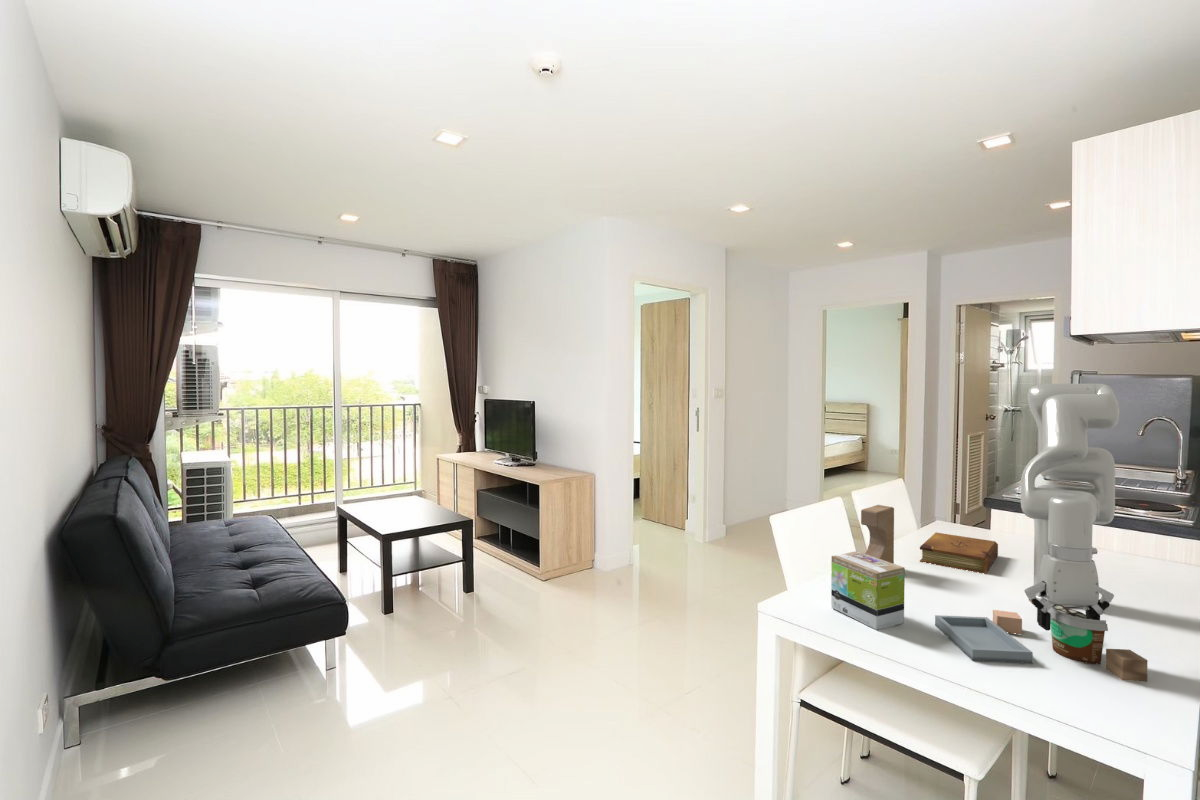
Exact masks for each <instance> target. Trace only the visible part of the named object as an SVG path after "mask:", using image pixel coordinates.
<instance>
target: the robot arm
mask: <svg viewBox="0 0 1200 800" xmlns="http://www.w3.org/2000/svg"><path fill="white" fill-rule="evenodd" d="M1027 403H1028V408H1029V410H1030V413H1031V414H1032V417H1033V419H1034V421H1035V423H1036V428H1037V430H1038V434H1037V435H1038V436H1037V437H1038V442H1037V443H1038V445H1037V446H1038V449H1037V454H1036V455H1035V456H1034V457H1032V458H1031V459H1030V460H1029V462H1028V463H1027V464H1026V465H1025V467H1024V468H1023V470H1022V474H1021V477H1020V478H1021V479H1020V508H1021V510H1022V513H1023V514H1024V515H1025V516H1026V517H1027V518H1029V519H1032V520H1033V528H1034V529H1033V531H1034V534H1033V535H1034V539H1033V540H1034V542H1033V543H1034V544H1033V545H1034V547H1033V548H1034V551H1033V552H1034V553H1033V585H1031V586H1029V587H1027V588H1025V589H1024V593H1025V595H1026V597H1027V598H1028V601H1029V602H1030V603H1031V604H1032V605H1033V606H1034V607H1035V608H1036V622H1037V624H1038V626H1040V628H1042V629H1043V630H1045V631H1051V614H1050V613H1049V612H1048V610H1049V609H1050V608H1051V607H1052V606H1053V605H1054V604H1056V605H1062V606H1065V607H1067V608H1080V607H1084V606H1085V607H1087V608H1086V609H1085V615H1087V616H1088V617H1090V618H1092V619H1094V620H1101V615H1103V614H1104V611H1105V610H1107V609H1108V608H1109V607H1110V603H1111V602H1112V600H1113V599H1114V597H1115V594H1114V593H1113V592H1111V591H1108V590H1107V589H1105V588H1102V587H1100V585H1099V584H1100V583H1099V574H1098V570H1097V565H1096V562H1095V560H1094V559H1093V556H1094V555H1097V554H1098V552H1099V551H1098V549H1097V548H1096V547H1093V527H1094V525H1108V524H1110V523H1111V522H1112V521H1114V518H1115V512H1116V462H1115V459H1114V456H1113V454H1112V453H1111V452H1110V451H1109V450H1107V449H1105V448H1101V447H1090V446H1089V445H1088V444H1089V443H1088V432H1087V431H1088V430H1087V429H1099V430H1100V429H1102V430H1105V429H1106V430H1110V429H1113V428H1115V427H1116V426H1117V425H1118V423H1119V419H1120V406H1119V401H1118V399H1117V397H1116V395H1115V393H1114V390H1113V388H1111V386H1109V385H1108V384H1104V383H1044V384H1043V383H1042V384H1036V385H1034V386H1031V387H1030V388H1029V389H1028V392H1027ZM1039 475H1041V476H1042V478H1045V479H1048V480H1051V481H1052V480H1054V481H1061V482H1062V481H1063V482H1072V483H1075V482H1076V483H1085V484H1090V485H1091V486H1092V487H1086V486H1074V485H1063V484H1043V485H1038V486H1035V484H1036V483H1035V482H1036V479H1037V477H1038V476H1039ZM1100 595H1101V597H1100Z"/></svg>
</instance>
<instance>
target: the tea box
mask: <svg viewBox="0 0 1200 800" xmlns="http://www.w3.org/2000/svg"><path fill="white" fill-rule="evenodd" d="M830 567H831V579H830V581H831V584H830V585H831V587H830V589H831V595H830V597H831V600H830V601H831V608H832V609H833V610H836V611H838V612H841V613H842V614H844V615H846V616H848V617H850V618H853V619H854V620H856V621H858V622H860V623H862V624H864V625H865V626H868V627H869V628H871V629H873V630H875V631H879V630H884V629H887V628H891V627H894V626H898V625H902V624H904V622H905V583H906V582H905V570H906V569H905V567H903V566H901V565H899V564H898V565H897V564H896V563H894V564H893V563H890V562H887V561H884V560H882V559H879V558H876V557H873V556H870V555H868V554H865V552H862V551H859V550H855V551H851V552H846V553H841V554H836V555H831V565H830ZM890 626H891V627H890ZM886 627H887V628H886Z"/></svg>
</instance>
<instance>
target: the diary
mask: <svg viewBox="0 0 1200 800" xmlns="http://www.w3.org/2000/svg"><path fill="white" fill-rule="evenodd" d="M919 550H921V552H922V553H921V557H922V558H921V559H920V560H919V563H923V562H926V563H925V564H929V563H931V564H930V565H934V564H936V565H935V566H939V565H940V567H945V568H950V567H951V569H955V568H956V570H961V569H962V570H963V571H966V570H968V571H967V572H972V571H973V573H977V572H979V573H978V574H982V573H984V575H985V574H987V573H988V571H989V570H990V568H991V566H993V564H994V562H995V561H996V559H997V557H998V556H999V544H998V542H996V541H995V540H989V539H981V538H975V537H969V536H961V535H955V534H950V533H942V532H937V531H936V532H935V533H933V534H932V535H931V536H930V537H929V538H928V539H927V540H926V541H925V542H924V543H922V544H921V545H920V546H919Z"/></svg>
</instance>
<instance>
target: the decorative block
mask: <svg viewBox="0 0 1200 800" xmlns="http://www.w3.org/2000/svg"><path fill="white" fill-rule="evenodd" d="M860 524H861V525H862V526H866V528H867V529H868V532H869V533H868V534H869V543H868V545H867V549H866V551H865V552H864V553H865V554H868V555H870V556H873V557H876V558H879V559H882V560H884V561H887V562H890V563H893V564H895V563H894V562H895V561H894V560H895V559H894V558H895V556H894V555H895V545H894V544H895V508H894V507H893V506H887V505H882V504H876V505H873V506H870V507H866V508H863V509H861V510H860Z"/></svg>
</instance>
